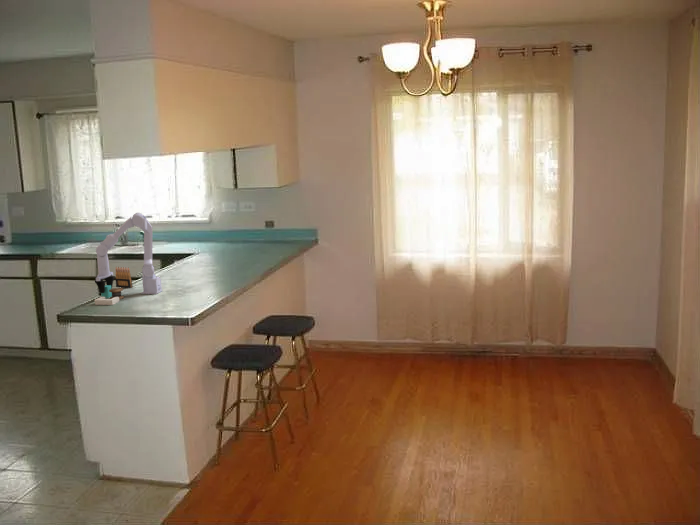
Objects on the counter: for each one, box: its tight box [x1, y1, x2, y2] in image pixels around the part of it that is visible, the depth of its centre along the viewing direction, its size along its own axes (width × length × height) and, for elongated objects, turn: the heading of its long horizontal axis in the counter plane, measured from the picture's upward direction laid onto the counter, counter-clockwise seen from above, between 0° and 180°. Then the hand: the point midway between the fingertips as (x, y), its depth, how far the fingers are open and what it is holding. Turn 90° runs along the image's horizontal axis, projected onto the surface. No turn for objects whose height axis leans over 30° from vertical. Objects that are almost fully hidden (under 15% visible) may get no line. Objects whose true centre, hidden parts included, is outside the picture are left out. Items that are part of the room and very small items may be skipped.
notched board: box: [94, 296, 120, 306], centre depth 363 cm, size 10×7×2 cm
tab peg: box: [100, 284, 112, 299], centre depth 376 cm, size 4×4×6 cm
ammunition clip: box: [115, 266, 134, 289], centre depth 397 cm, size 11×2×12 cm, turn 66°
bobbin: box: [109, 287, 125, 300], centre depth 372 cm, size 7×7×5 cm
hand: (106, 291), depth 376 cm, fingers open, 7 cm apart
